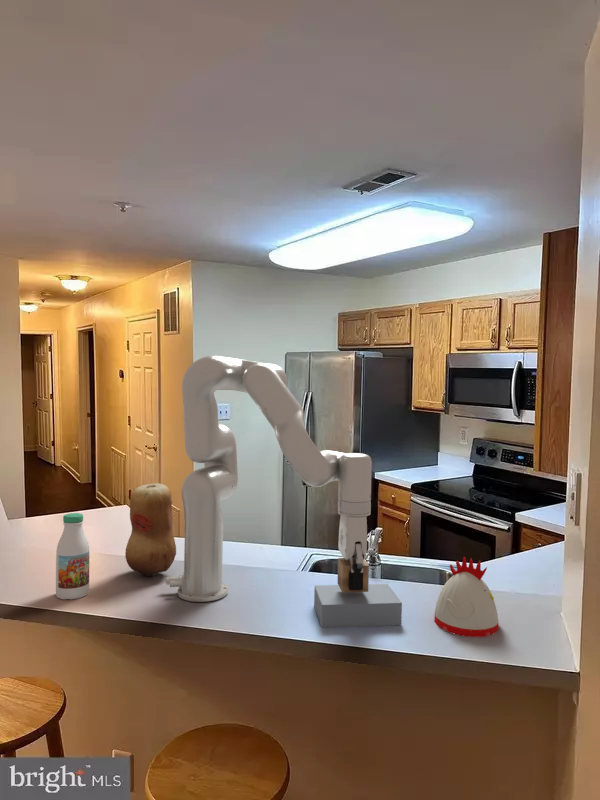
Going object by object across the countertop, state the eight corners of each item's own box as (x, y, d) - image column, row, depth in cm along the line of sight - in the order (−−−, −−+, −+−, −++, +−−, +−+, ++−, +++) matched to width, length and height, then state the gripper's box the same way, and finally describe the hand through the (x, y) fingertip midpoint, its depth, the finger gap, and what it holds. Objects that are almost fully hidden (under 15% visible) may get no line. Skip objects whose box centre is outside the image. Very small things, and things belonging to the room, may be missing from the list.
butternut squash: (114, 579, 152) (115, 486, 151) (141, 564, 165) (142, 479, 164) (161, 585, 148) (162, 490, 148) (185, 569, 161) (186, 482, 161)
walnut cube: (342, 592, 128) (342, 566, 128) (337, 583, 134) (338, 557, 134) (368, 591, 129) (368, 565, 129) (362, 582, 135) (362, 557, 135)
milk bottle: (48, 597, 139) (49, 516, 138) (72, 587, 146) (72, 509, 145) (73, 602, 136) (73, 519, 135) (95, 591, 143) (96, 513, 142)
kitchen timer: (489, 643, 119) (491, 572, 118) (425, 627, 126) (427, 560, 126) (504, 620, 131) (506, 555, 130) (445, 606, 138) (447, 545, 138)
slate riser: (321, 627, 125) (322, 604, 125) (314, 606, 137) (314, 585, 136) (401, 625, 127) (401, 602, 127) (387, 604, 139) (387, 584, 138)
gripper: (331, 499, 139) (330, 572, 139) (345, 515, 122) (343, 599, 122) (361, 499, 140) (360, 572, 140) (379, 515, 123) (377, 598, 123)
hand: (352, 583), depth 131 cm, fingers closed on walnut cube, 6 cm apart
